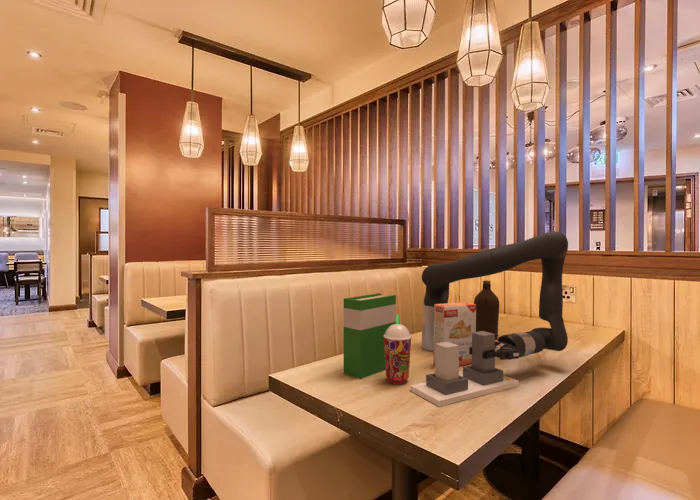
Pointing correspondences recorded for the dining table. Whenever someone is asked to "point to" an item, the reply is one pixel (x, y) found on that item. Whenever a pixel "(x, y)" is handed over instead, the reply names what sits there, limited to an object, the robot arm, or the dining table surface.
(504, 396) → the dining table surface
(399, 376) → the smoothie
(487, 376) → the white board with sockets
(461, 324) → the cracker box
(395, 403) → the dining table surface
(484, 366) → the charcoal plug
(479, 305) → the olive oil
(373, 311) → the hardback book
